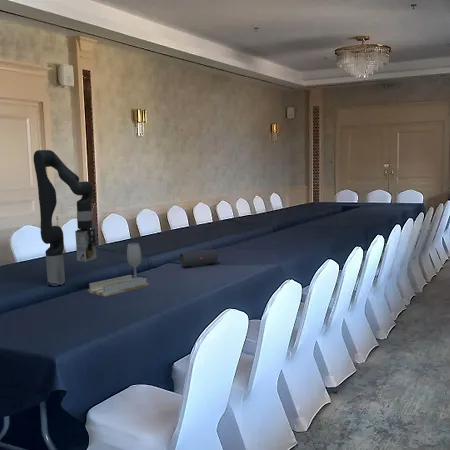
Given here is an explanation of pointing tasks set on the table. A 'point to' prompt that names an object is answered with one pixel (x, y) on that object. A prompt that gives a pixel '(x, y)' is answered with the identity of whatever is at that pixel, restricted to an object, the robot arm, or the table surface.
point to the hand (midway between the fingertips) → (86, 249)
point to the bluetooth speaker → (198, 258)
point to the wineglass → (134, 257)
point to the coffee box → (84, 246)
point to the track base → (116, 285)
